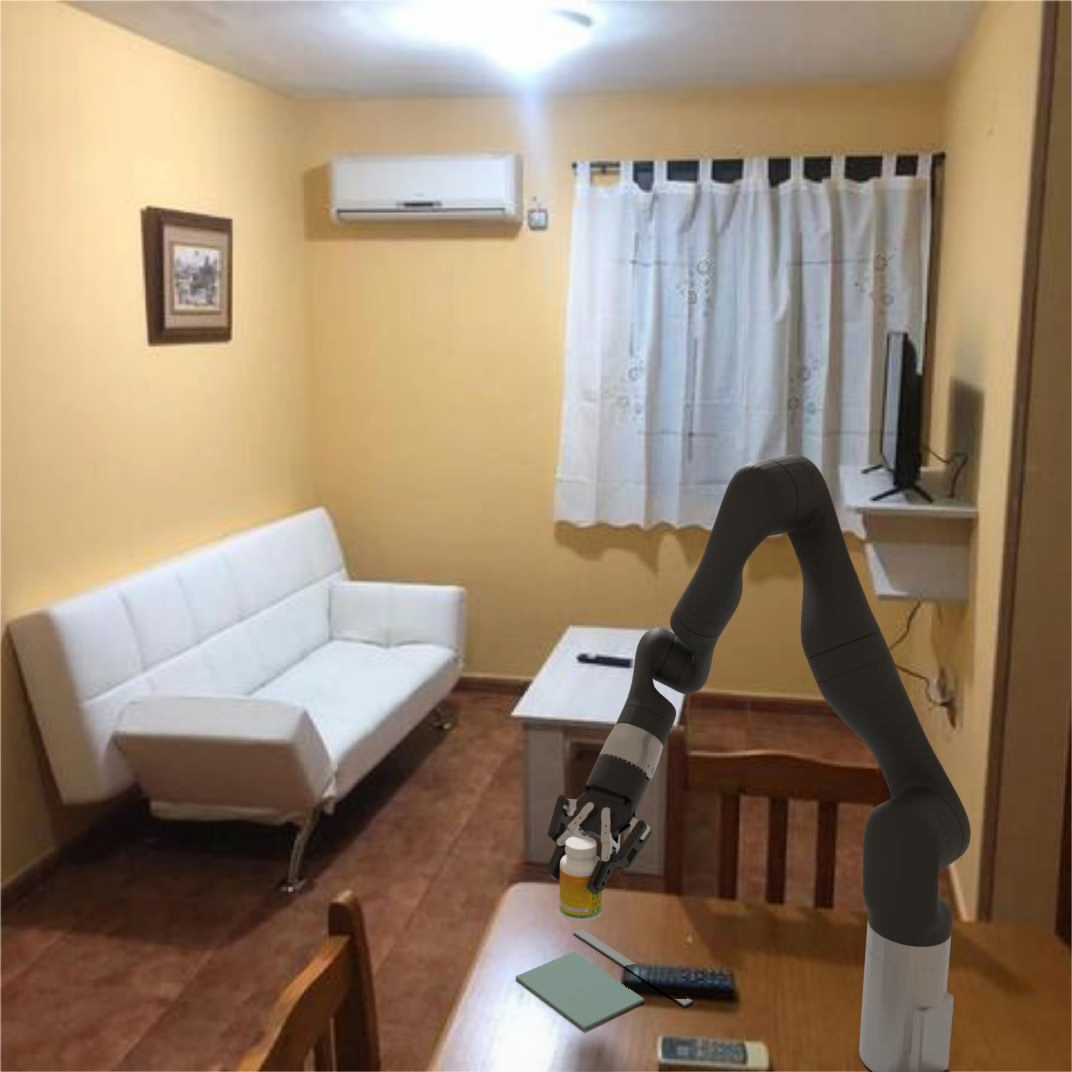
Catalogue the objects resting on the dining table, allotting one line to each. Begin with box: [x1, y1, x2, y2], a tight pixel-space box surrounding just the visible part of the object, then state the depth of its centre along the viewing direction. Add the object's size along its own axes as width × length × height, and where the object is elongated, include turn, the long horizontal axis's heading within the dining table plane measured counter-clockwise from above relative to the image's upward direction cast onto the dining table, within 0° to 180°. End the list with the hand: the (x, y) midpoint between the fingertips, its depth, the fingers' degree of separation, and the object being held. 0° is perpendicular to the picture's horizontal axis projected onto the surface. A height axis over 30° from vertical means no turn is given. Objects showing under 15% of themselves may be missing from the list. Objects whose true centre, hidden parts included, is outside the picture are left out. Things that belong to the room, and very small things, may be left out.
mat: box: [515, 951, 645, 1031], centre depth 151 cm, size 14×10×1 cm
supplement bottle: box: [558, 836, 603, 923], centre depth 148 cm, size 5×5×10 cm
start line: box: [573, 928, 693, 1008], centre depth 156 cm, size 22×2×1 cm, turn 38°
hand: (572, 884), depth 147 cm, fingers closed on supplement bottle, 5 cm apart
